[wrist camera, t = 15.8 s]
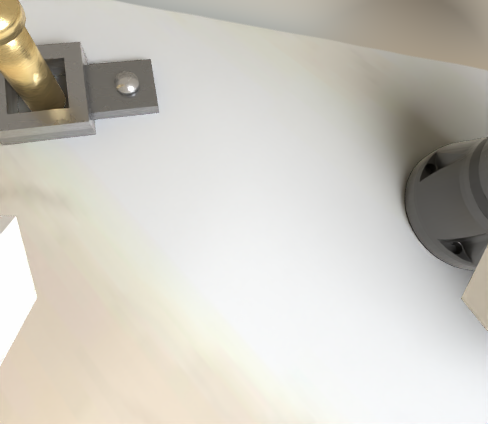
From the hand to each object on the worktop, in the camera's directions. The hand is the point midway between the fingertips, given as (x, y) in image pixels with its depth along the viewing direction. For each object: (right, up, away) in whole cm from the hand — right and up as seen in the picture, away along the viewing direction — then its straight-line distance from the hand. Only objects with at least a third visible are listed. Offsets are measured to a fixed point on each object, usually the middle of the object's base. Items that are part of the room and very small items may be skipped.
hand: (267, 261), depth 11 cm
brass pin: (-23, +14, +32) cm, 42 cm away
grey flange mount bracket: (-23, +14, +32) cm, 42 cm away
